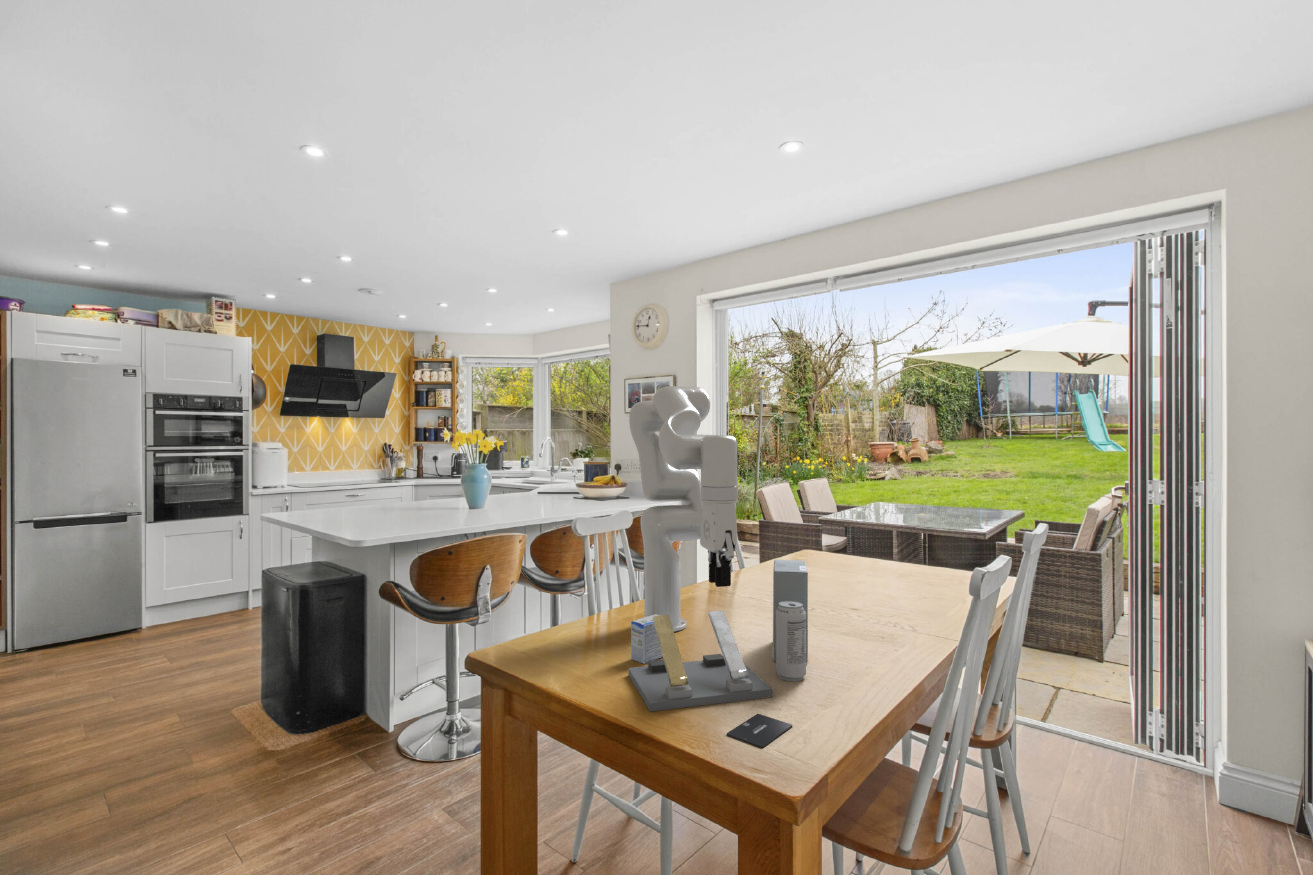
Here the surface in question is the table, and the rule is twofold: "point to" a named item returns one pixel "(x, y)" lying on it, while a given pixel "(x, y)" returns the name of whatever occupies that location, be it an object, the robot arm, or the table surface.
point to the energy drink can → (791, 641)
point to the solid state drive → (759, 730)
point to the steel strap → (728, 645)
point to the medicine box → (644, 640)
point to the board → (695, 684)
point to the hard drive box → (789, 590)
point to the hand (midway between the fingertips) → (719, 583)
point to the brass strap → (670, 651)
